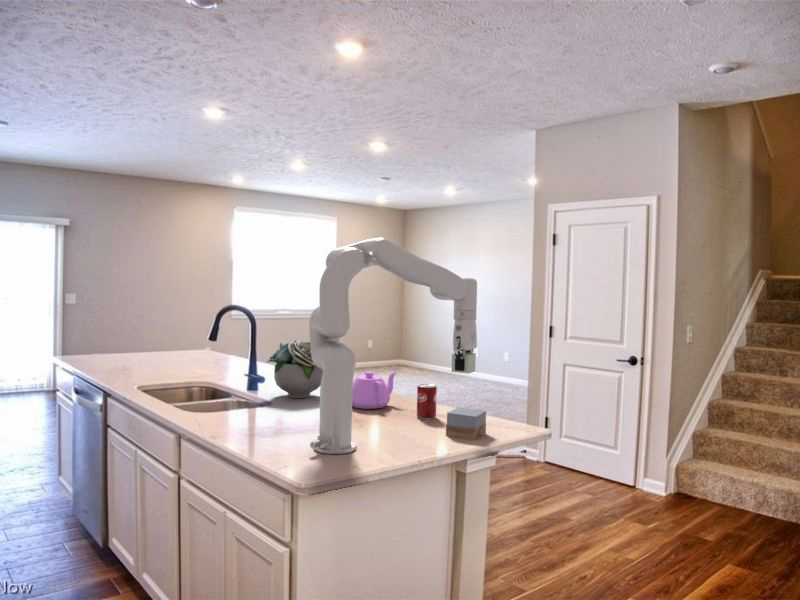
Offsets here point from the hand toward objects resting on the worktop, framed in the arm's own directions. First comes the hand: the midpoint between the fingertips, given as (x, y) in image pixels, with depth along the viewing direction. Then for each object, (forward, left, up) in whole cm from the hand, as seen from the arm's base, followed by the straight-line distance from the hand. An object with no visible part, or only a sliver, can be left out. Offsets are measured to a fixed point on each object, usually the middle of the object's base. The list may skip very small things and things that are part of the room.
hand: (463, 368), depth 193 cm
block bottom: (0, -1, -22) cm, 22 cm away
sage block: (0, 0, -1) cm, 1 cm away
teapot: (+20, +48, -22) cm, 56 cm away
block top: (0, -2, -18) cm, 18 cm away
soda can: (+14, +21, -22) cm, 33 cm away
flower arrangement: (+17, +83, -22) cm, 87 cm away
